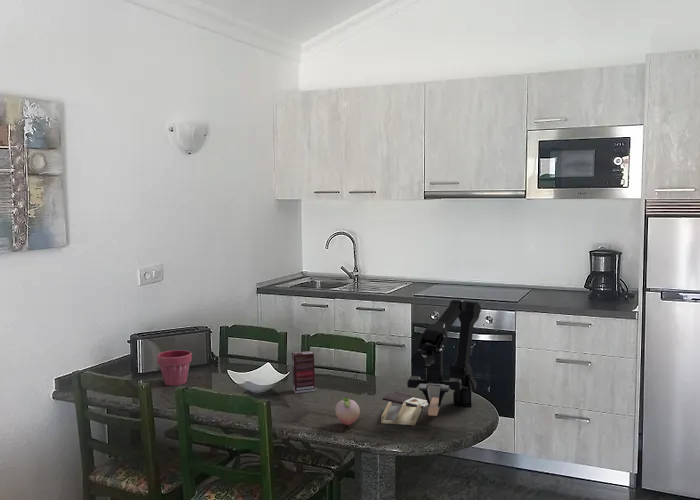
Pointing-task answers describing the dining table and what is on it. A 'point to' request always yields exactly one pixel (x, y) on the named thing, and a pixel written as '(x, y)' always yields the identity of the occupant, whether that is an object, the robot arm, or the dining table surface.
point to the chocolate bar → (407, 399)
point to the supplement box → (303, 371)
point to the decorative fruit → (347, 411)
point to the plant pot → (174, 366)
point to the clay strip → (433, 407)
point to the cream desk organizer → (400, 414)
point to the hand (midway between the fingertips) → (434, 406)
